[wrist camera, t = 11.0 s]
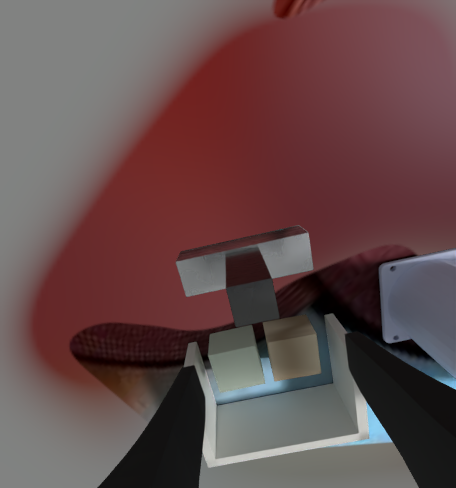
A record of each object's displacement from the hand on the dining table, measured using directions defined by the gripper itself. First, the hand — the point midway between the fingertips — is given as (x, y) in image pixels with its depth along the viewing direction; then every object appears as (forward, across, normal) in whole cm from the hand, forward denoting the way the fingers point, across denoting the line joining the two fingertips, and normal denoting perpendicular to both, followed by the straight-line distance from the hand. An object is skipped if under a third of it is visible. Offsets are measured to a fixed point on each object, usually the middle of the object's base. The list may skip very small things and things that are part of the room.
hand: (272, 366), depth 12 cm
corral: (+10, 0, +10) cm, 14 cm away
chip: (+11, -2, +7) cm, 13 cm away
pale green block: (+11, +3, +7) cm, 13 cm away
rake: (+11, 0, -2) cm, 11 cm away
